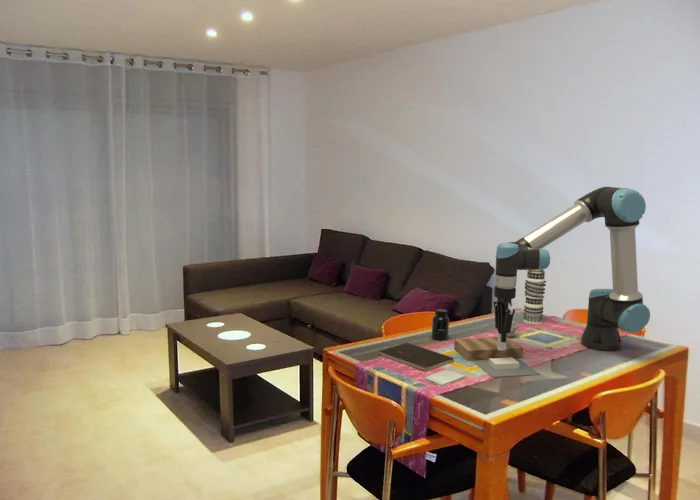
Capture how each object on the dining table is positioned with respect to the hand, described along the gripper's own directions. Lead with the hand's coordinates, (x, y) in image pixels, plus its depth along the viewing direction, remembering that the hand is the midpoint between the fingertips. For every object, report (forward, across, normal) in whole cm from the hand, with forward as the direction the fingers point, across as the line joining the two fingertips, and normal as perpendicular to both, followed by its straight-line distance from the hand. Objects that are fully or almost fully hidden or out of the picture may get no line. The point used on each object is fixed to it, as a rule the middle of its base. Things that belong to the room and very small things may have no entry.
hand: (501, 349), depth 222 cm
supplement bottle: (+6, -33, -12) cm, 35 cm away
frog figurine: (+6, -31, +18) cm, 36 cm away
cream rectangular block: (+3, +3, 0) cm, 4 cm away
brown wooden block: (+5, -12, 0) cm, 13 cm away
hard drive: (+6, +11, -26) cm, 29 cm away
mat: (+5, +4, 0) cm, 7 cm away
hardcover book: (+6, -10, -29) cm, 32 cm away
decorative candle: (+6, -51, +39) cm, 64 cm away
